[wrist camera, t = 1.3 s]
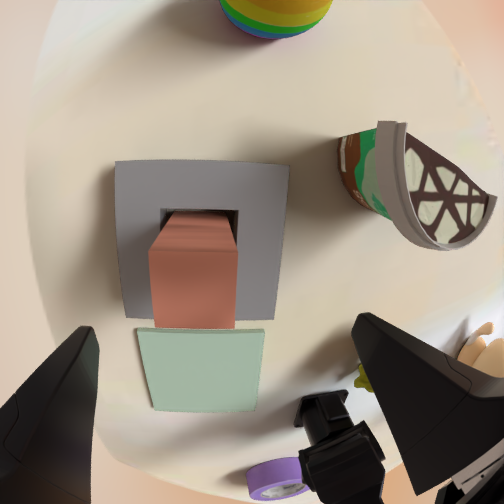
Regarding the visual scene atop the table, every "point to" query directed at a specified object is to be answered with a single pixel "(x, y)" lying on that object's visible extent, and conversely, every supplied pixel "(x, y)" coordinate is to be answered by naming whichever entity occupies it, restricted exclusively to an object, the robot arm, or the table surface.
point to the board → (202, 368)
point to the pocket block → (202, 197)
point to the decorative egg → (275, 16)
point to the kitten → (484, 352)
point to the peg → (194, 272)
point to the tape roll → (276, 479)
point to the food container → (413, 187)
